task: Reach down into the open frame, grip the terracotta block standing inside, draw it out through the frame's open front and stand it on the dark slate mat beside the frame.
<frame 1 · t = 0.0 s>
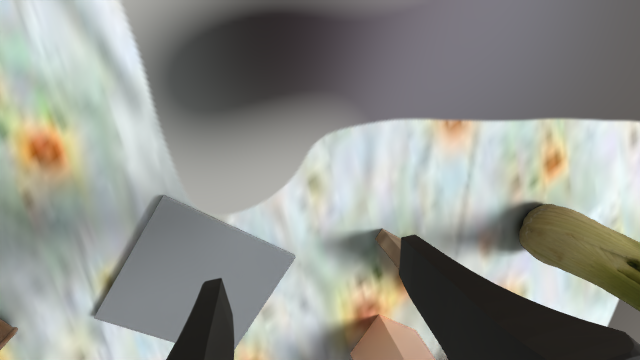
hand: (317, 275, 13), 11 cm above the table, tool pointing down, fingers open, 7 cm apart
block: (383, 341, 29), on the table
fennel bulb: (534, 224, 29), on the table
open frame: (398, 347, 30), on the table
mat: (199, 283, 24), on the table
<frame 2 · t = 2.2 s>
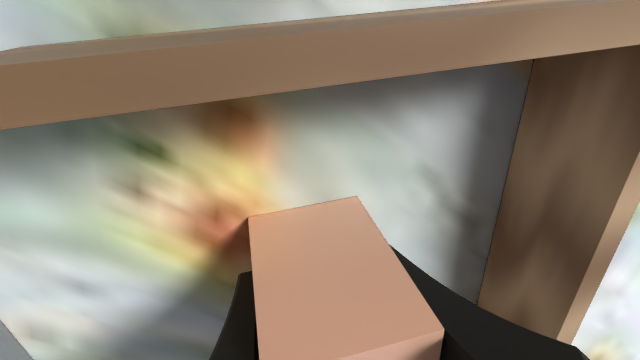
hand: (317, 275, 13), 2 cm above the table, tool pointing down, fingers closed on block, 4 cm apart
block: (309, 249, 14), on the table, touching gripper
open frame: (347, 241, 15), on the table
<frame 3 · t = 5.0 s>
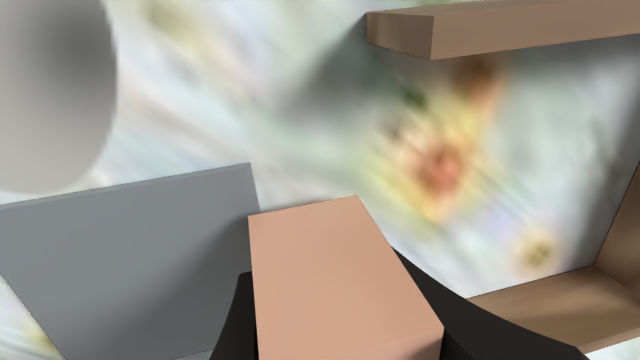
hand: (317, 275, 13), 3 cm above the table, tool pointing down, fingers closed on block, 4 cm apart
block: (309, 247, 14), point 1 cm above the table, touching gripper
open frame: (523, 185, 17), on the table
mat: (159, 280, 15), on the table
when the fingers open (3 cm above the table, at t = 8.1 s): block stays where it is, resting on mat.
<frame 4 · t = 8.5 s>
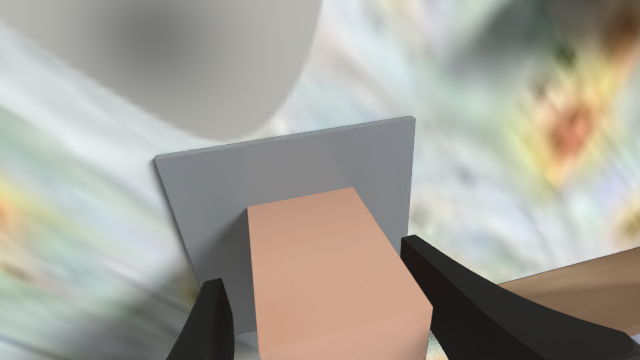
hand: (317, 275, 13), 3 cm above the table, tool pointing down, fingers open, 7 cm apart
block: (306, 238, 15), resting on mat
open frame: (639, 150, 18), on the table
mat: (304, 235, 15), on the table
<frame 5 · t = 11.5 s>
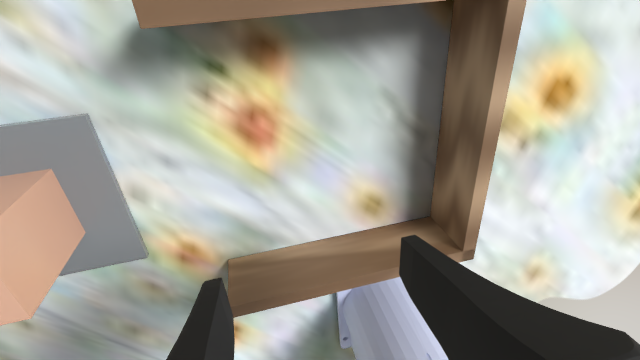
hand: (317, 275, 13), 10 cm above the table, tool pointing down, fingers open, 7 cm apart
block: (26, 209, 19), resting on mat
open frame: (335, 141, 22), on the table
mat: (31, 207, 19), on the table
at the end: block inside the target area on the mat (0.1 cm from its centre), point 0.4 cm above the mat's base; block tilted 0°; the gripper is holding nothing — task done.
